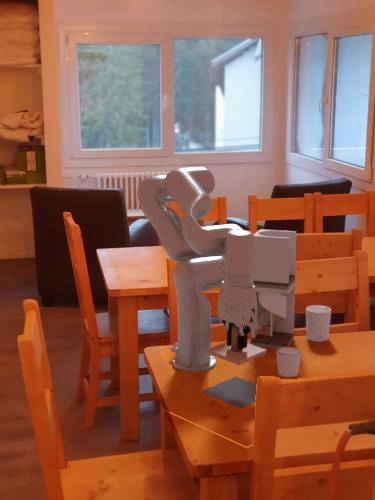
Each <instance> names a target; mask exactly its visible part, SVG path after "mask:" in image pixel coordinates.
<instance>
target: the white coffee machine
mask: <svg viewBox="0 0 375 500" xmlns="http://www.w3.org/2000/svg"><path fill="white" fill-rule="evenodd" d="M253 235H254V237H255V249H254V279H253V285H254V286H255V290H256V298H257V319H256V320H257V323H258V326H259V328H258V329H255V330H252V331H251V337H250V343H249V344H252V345H254V346H257V347H260V348H263V349H274V350H277V349H278V348H281V347H290V346H291V344H292V342H293V340H294V338H295V337H294V335H295V334H294V333H295V331H294V330H295V302H296V301H295V299H296V295H295V293H296V266H297V265H296V261H297V258H296V257H297V231H293V230H278V229H277V230H276V229H264V228H262V229H259V230H257V231H256V232H255V233H253Z"/></svg>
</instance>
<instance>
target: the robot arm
mask: <svg viewBox="0 0 375 500" xmlns="http://www.w3.org/2000/svg"><path fill="white" fill-rule="evenodd" d="M215 181H216V180H215V177H214V175H213V173H212V172H211V170H209V168H206V166H205V167H204V166H193V167H192V166H191V167H180V168H174V169H172V170H170V171H169V172H167V173H166V174H158V175H153V176H149V177H146V178H143V179H142V180H141V181H140V182H139V184H138V186H137V199H138V203H139V207H140V209H141V212H142V213H143V215H144V217H145V218H146V219H147V220H148V221H149V223H150V224H151V226H152V227H153V228H154V230H155V232H156V234H157V237H158V238H159V241H160V242H161V244H162V246H163V248H164V251H165V253H166V255H167V256H168V257H169V259H170V260H171V261H172V262H177V264H176V265H175V266H174V268H173V281H174V286H175V292H176V293H175V294H176V305H177V309H176V310H177V311H176V312H177V342H175V343H173V346H171V347H170V351H171V352H172V353H175V357H174V358H173V359H172V365H173V367H174V368H175V369H177V370H179V371H182V372H189V373H191V372H193V373H196V372H197V373H198V372H205V371H208V370H212V369H213V368H215V367H216V365H217V360H216V358H215V356H213V355H211V354H208V353H207V349H209V348H212V346H211V345H212V344H211V343H212V341H211V340H212V339H211V338H212V334H211V333H212V332H211V331H212V329H211V326H212V320H211V319H212V314H211V311H212V310H211V304H210V301H209V299H208V298H207V297H206V296H205V294H204V292H205V291H209V290H215V289H219V291H218V300H217V318H218V319H219V320H220V321H221V322H222V324H223V325H224V330H225V331H226V342H227V346H231V332H232V325H234V324H236V325H239V331H240V335H238V344H237V349H238V350H242V349H244V348H246V347H247V343H248V338H249V337H248V336H249V334H250V333H252V330H255V329H258V328H259V326H258V323H257V320H256V319H257V298H256V290H255V286H254V285H253V279H254V249H255V237H254V233H253V232H251V231H249V230H245V229H243V228H242V227H240V225H238V224H236V223H226V224H225V223H224V224H217V225H216V224H215V225H208V226H202V225H200V223H198V222H199V221H201V220H203V218H205V217H206V216H207V215H208V214H209V212H210V211H211V209H212V207H213V201H212V198H211V196H210V195H211V194H212V193H213V192H214V190H215V185H216V182H215ZM172 203H173V204H174V203H175V204H176V205H177V207H179V209H180V210H181V212H182V216H181V215H180V214H179V213H178V211H176V210H175V209H173V208H171V207H170V206H169V205H167V204H172Z"/></svg>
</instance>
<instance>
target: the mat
mask: <svg viewBox="0 0 375 500" xmlns="http://www.w3.org/2000/svg"><path fill="white" fill-rule="evenodd" d="M256 384H257V383H255V382H253V381H250V380H247V379H244V378H242V377H239V376H233V377H231V378H229V379H226V380H223V381H222V382H219V383H217V384H215V385H212V386H210V387H208V388H206V389H204V390H200V393H202V394H204V395H208V396H210V397H212V398H215V399H218V400H220V401H223V402H225V403H227V404H230V405H232V406H235V407H237V408H240V409H242V408H244V407H246V406H248V405H250V404H252V403H255V402H256V401H255V395H256Z"/></svg>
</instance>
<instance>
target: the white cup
mask: <svg viewBox="0 0 375 500" xmlns="http://www.w3.org/2000/svg"><path fill="white" fill-rule="evenodd" d="M331 316H332V308H330V307H329V306H326V305H321V304H320V305H319V304H313V305H308V306H307V307H305V325H306V326H305V328H306V339H307V341H310V340H311V341H310V342H313V341H315V342H314V343H324V342H323V341H325V342H327V341H328V340H329V336H330V334H329V333H330V327H331V318H332V317H331Z"/></svg>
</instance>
